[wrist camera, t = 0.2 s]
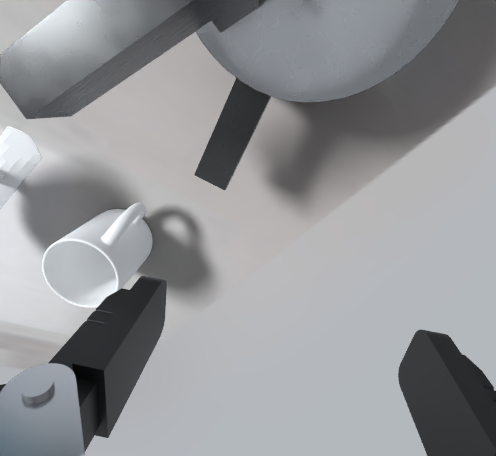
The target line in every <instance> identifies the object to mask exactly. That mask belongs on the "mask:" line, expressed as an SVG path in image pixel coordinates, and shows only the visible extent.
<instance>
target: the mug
mask: <svg viewBox="0 0 496 456" xmlns="http://www.w3.org/2000/svg"><path fill="white" fill-rule="evenodd" d="M145 212H146V207H145V205H144V204H143V203H140V202H138V203H135V204H133V205H131V206H130V207H129V208H128V209H127V210H124V209H111V210H108V211H105V212H103V213H101V214H99V215H98V216H96V217H94V218H93V219H91V220H90V221H88V222H87V223H85V224H83V225H82V226H80V227H79V228H77V229H75V230H74V231H72V232H71V233H69V234H68V235H66V236H64V237H63V238H61V239H60V240H58V241H56V242H55V243H53V244H52V245H51V246H50V247H49V248H48V249H47V250H46V252H45V254H44V256H43V260H42V270H43V274H44V277H45V279H46V281H47V283H48V285H49V286H50V288H51V289H52V290H53V291H54V292H55V293H56V294H57V295H58V296H59V297H61V298H62V299H63V300H65V301H67V302H69V303H71V304H73V305H76V306H79V307H85V308H96V307H98V306H99V305H100V304H101V303H102V302H103V300H104V299H105V298H106V297H107V296H109V295H111V294H113V293H114V292H116V291H118V290H120V289H121V288H123V286H124V285H125V284H126V283H127V282H128V280H129V279H130V278H131V277H132V276H133V274H134V273H135V272H136V271H137V270H138V268H139V267H140V266H141V265H142V264H143V262H144V261H145V260H146V259H147V257H148V256H149V254H150V252H151V249H152V245H153V239H152V234H151V231H150V229H149V227H148V225H147V224H146V222H145V221H144V220H143V219H142V218H143V216H144V214H145Z"/></svg>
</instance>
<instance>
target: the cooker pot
mask: <svg viewBox="0 0 496 456" xmlns="http://www.w3.org/2000/svg"><path fill="white" fill-rule="evenodd" d="M270 98H271V96H269V95H267V94H264V93H262V92H259V91H257V90H255V89H253V88H252V87H250V86H248V85H246V84H245V83H243V82H241V81H240V80H239V79H237V78H236V80H235V83H234V85H233V87H232V90H231V92H230V94H229V96H228V99H227V101H226V103H225V106H224V108H223V110H222V113H221V115H220V117H219V119H218V122H217V124H216V126H215V129H214V131H213V133H212V136H211V138H210V140H209V142H208V145H207V147H206V149H205V152H204V154H203V156H202V158H201V161H200V163H199V165H198V168H197V170H196V172H195V176H197V177H199V178H201V179H203V180H205V181H207V182H209V183H211V184H213V185H215V186H217V187H219V188H221V189H223V190H225V189H226V188H227V186H228V184H229V182H230V180H231V178H232V176H233V174H234V172H235V170H236V168H237V166H238V164H239V162H240V160H241V158H242V156H243V154H244V152H245V150H246V147H247V145H248V143H249V141H250V139H251V137H252V135H253V133H254V131H255V129H256V127H257V125H258V123H259V121H260V119H261V117H262V115H263V113H264V111H265V108H266V106H267V104H268V102H269V100H270Z"/></svg>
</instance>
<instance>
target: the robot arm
mask: <svg viewBox="0 0 496 456" xmlns="http://www.w3.org/2000/svg"><path fill="white" fill-rule="evenodd" d="M165 305H166V281H165V280H161V279H156V278H151V277H145V276H141V277H140V278H139V279H138V281H137V282H136V283H135V284H134V286H133V287H132V288H131V289H130V290H127V289H122V288H121V289H120V290H118V291H116V292H114V293H113V294H111V295H109V296H107V297H106V298H105V299H104V300H103V302H102V303H101V304H100V305H99V306H98V307H97V308H96V311H94V312H93V313H92V314H91V315H90V316H89V318H88V319H87V321H85V322H84V323H83V324H82V325H81V327H80V328H79V329H78V330H77V331H76V332H75V333H74V335H73V336H72V337H71V338H70V339H69V340H68V341H67V343H66V344H65V345H64V346H63V347H62V348H61V349H60V351H59V352H58V353H57V354H56V355H55V356H54V357H53V359H52V360H51V361H50V362H49V363H48V364H42V365H38V366H35V367H32V368H29V369H27V370H25V371H23V372H21V373H20V374H18V375H17V376H15V377H14V378H13V379H12V380H10V381H9V382H8V383H7V384H3V385H0V456H85V451H86V449H87V447H88V445H89V444H90V442H91V440H92V438H93V437H94V435H96V436H101V437H106V438H108V437H109V435H110V433H111V431H112V429H113V427H114V425H115V423H116V422H117V420H118V418H119V416H120V414H121V412H122V410H123V408H124V406H125V404H126V402H127V400H128V398H129V396H130V394H131V392H132V390H133V388H134V386H135V385H136V383H137V381H138V379H139V377H140V375H141V373H142V371H143V369H144V367H145V365H146V363H147V361H148V359H149V357H150V355H151V353H152V351H153V349H154V348H155V346H156V344H157V342H158V340H159V338H160V335H161V333H162V330H163V326H164V321H165ZM398 375H399V376H398V377H399V384H400V387H401V390H402V392H403V395H404V397H405V400H406V402H407V405H408V407H409V410H410V413H411V415H412V418H413V420H414V423H415V425H416V428H417V430H418V433H419V435H420V438H421V440H422V443H423V446H424V448H425V451H426V453H427V456H496V391H494V387H493V386H492V385H491V383H490V382H489V380H488V379H487V377H486V376H485V375H484V373H483V372H482V371H481V370H480V369H479V368H478V367H477V366H476V365H475V364H474V363H473V362H472V361H470V360H469V359H468V358H467V357H466V356H465V355H462V354H461V353H460V351H459V350H458V348H457V347H456V345H455V344H454V342H453V341H452V339H451V338H450V337H449V336H448V335H446V334H441V333H436V332H430V331H426V330H418V331H417V332H416V333H415V335H414V337H413V339H412V341H411V343H410V345H409V347H408V349H407V351H406V353H405V356H404V358H403V360H402V362H401V364H400V367H399V374H398Z"/></svg>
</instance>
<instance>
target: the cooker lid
mask: <svg viewBox="0 0 496 456" xmlns="http://www.w3.org/2000/svg"><path fill="white" fill-rule="evenodd" d="M458 1H459V0H67V1H66V2H64V3H63V4H62V5H61V6H60V7H58V8H57V9H56V10H55V11H53V12H52V13H51V14H50V15H48V16H47V17H46V18H45V19H43V20H42V21H41V22H40V23H39V24H37V25H36V26H35V27H34V28H32V29H31V30H30V31H29V32H27V33H26V34H25V35H24V36H22V37H21V38H20V39H19V40H18V41H16V42H15V43H14V44H13V45H11V46H10V47H9V48H8V49H6V50H5V51H4V52H3V53H1V54H0V84H1V85H2V86H3V88H4V89H5V90H6V92H7V93H8V94H9V96H10V97H11V99H12V100H13V101H14V103H15V104H16V105H17V107H18V108H19V110H20V111H21V112H22V114H23V115H24V116H25V118H26V119H35V118H51V117H67V116H72V115H74V114H75V113H77V112H78V111H79V110H81V109H82V108H84V107H85V106H87V105H88V104H90V103H91V102H93V101H94V100H96V99H97V98H99V97H100V96H101V95H103V94H104V93H106V92H107V91H109V90H110V89H112V88H113V87H115V86H116V85H118V84H119V83H121V82H122V81H123V80H125V79H126V78H128V77H129V76H131V75H132V74H134V73H135V72H137V71H138V70H140V69H141V68H142V67H144V66H145V65H147V64H148V63H150V62H151V61H153V60H154V59H156V58H157V57H159V56H160V55H162V54H163V53H164V52H166V51H167V50H169V49H170V48H172V47H173V46H175V45H176V44H178V43H179V42H181V41H182V40H184V39H185V38H186V37H188V36H189V35H191V34H192V33H194V32H195V31H196V33H197V35H198V36H199V38H200V40H201V41H202V43H203V44H204V45H205V47H206V48H207V49H208V51H209V52H210V53H211V54H212V56H213V57H214V58H215V59H216V60H217V61H218V62H219V63H220V64H221V65H222V66H223V67H224V68H225V69H226V70H227V71H228V72H230V73H231V74H232V75H234V76H235V77H236V78H237V79H239V80H240V81H241V82H243V83H245V84H246V85H248V86H250V87H252V88H253V89H255V90H257V91H259V92H262V93H264V94H267V95H269V96H272V97H275V98H279V99H283V100H287V101H296V102H324V101H330V100H335V99H341V98H344V97H347V96H351V95H354V94H357V93H360V92H362V91H364V90H366V89H368V88H371V87H373V86H375V85H377V84H379V83H380V82H382V81H384V80H385V79H387V78H388V77H390V76H392V75H393V74H395V73H396V72H397V71H399V70H400V69H401V68H402V67H404V66H405V65H406V64H407V63H409V62H410V61H411V60H412V59H413V58H414V57H415V56H416V55H417V54H418V53H419V52H420V51H421V50H422V49H423V48H425V47H426V46H427V45H428V43H429V42H430V41H431V40H432V38H433V37H434V36H435V35H436V34H437V32H438V31H439V30H440V29H441V28H442V26H443V25H444V23H445V22H446V20H447V19H448V17H449V16H450V14H451V13H452V11H453V10H454V8H455V7H456V5H457V3H458Z"/></svg>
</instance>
